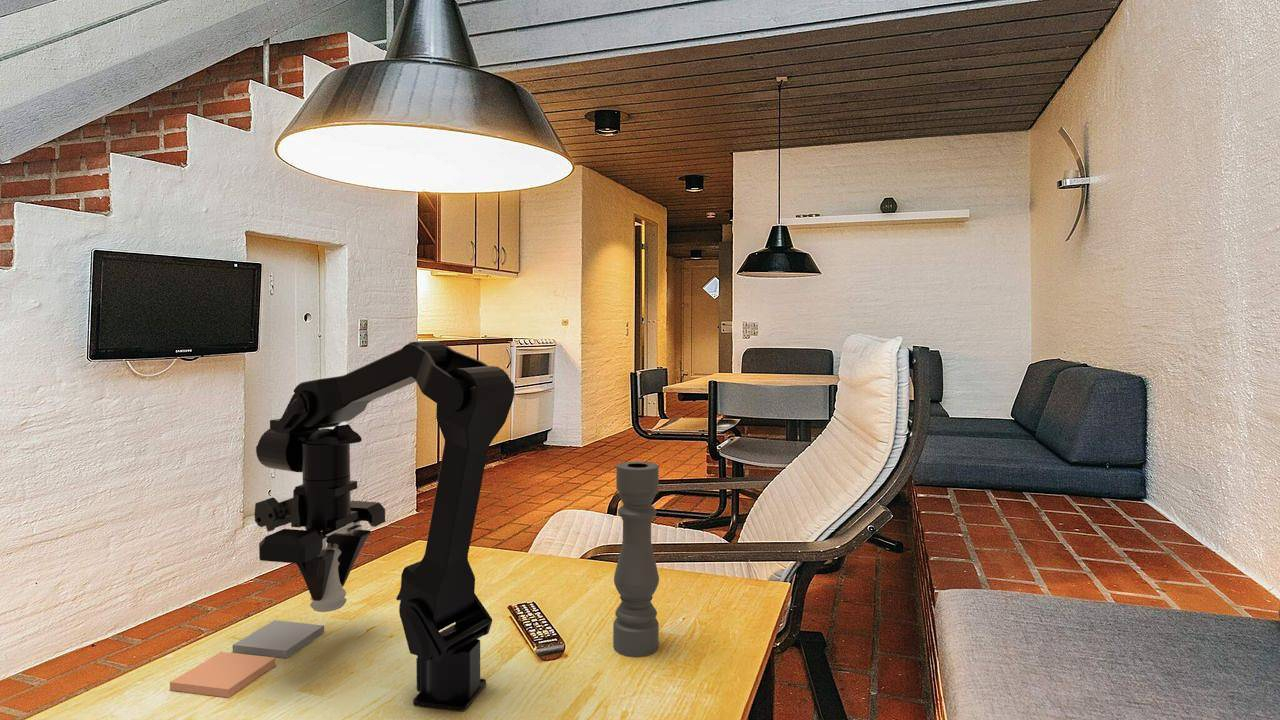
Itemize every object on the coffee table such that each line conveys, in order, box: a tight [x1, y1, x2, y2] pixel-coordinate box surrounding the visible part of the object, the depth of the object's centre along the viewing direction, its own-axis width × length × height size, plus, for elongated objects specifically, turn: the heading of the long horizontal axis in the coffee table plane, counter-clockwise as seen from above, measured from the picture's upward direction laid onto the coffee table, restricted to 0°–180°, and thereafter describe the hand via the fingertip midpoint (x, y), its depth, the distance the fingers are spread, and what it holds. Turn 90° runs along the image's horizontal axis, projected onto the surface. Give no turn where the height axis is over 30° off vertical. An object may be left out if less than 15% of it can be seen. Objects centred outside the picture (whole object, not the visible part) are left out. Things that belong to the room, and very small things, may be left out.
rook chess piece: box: [309, 543, 348, 613], centre depth 94 cm, size 4×4×8 cm
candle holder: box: [612, 460, 660, 658], centre depth 97 cm, size 6×6×25 cm
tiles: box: [169, 619, 325, 698], centre depth 93 cm, size 8×18×1 cm, turn 169°
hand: (328, 593), depth 94 cm, fingers closed on rook chess piece, 4 cm apart
